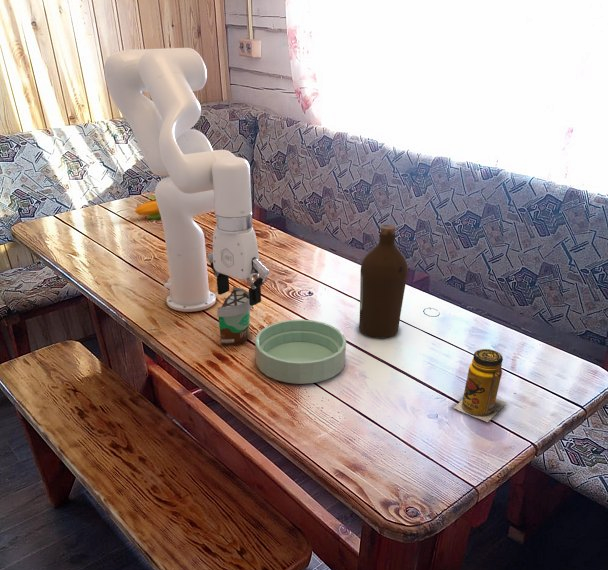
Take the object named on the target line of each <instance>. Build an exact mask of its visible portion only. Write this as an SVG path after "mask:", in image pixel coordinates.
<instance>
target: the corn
mask: <svg viewBox="0 0 608 570" xmlns="http://www.w3.org/2000/svg"><path fill="white" fill-rule="evenodd" d="M148 200H149V201H146V202H144V203H142V204H140V205H138V206H137V207H136V209H134V212H135V214H137V215H138V216H147V219H149V220H158V219H161V215H160V212H159V208H158V205H157V201H156V197H155V195H154V196H151V197H148Z"/></svg>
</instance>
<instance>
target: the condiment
mask: <svg viewBox="0 0 608 570" xmlns="http://www.w3.org/2000/svg"><path fill="white" fill-rule="evenodd" d="M472 357H473V358H472V360H471V363H470V364H469V366H468V372H467V377H466V381H465V387H464V391H463V396H462V399H461V401H459V402H458V403H457V404H456V405H455V406H453V409H455V410H457V411H459V412H461V413H463V414H466V415H468V416H471V417H473V418H475V419H478V420H481V421H484V422H486V423H489V421H491V420H492V419H493V418H494V417H495V416H496V415H497V414H498V413H499V412H500V410H502V408H504V407H505V405H506V404H507V402H506V401H502V400H499V399H497V396H498V392H499V387H500V383H501V378H502V375H503V369H502V366H503V364H502V363H503V360H504V358H503V355H502V354H501V353H500V352H498V351H496V350H494V349H490V348H482V349H478V350H476V351H475V352H474V353H473V356H472Z"/></svg>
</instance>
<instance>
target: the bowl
mask: <svg viewBox="0 0 608 570" xmlns="http://www.w3.org/2000/svg"><path fill="white" fill-rule="evenodd" d="M254 347H255V349H254V350H255V365H256V367H257V368H258V370H259V371H260V372H261V373H262V374H264V375H265V376H266V377H268V378H271V379H273V380H275V381H279V382H284V383H288V384H298V385H303V384H314V383H320V382H324V381H326V380H329V379H331V378H334V377H335V376H336V375H338V374H340V373H341V372H342V370H343V368H345V363H346V353H347V351H346V350H347V339H346V336H345V333H343V332H342V331H341V330H340V329H338V328H336V327H335V326H334V325H331V324H329V323H326V322H322V321H316V320H312V319H287V320H282V321H277V322H273V323H272V324H268V325H267V326H265V327H263V328H262V329H261V330H260V331H259V332H257V334H256V337H255V339H254Z"/></svg>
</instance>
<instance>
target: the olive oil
mask: <svg viewBox="0 0 608 570" xmlns="http://www.w3.org/2000/svg"><path fill="white" fill-rule="evenodd" d="M395 239H396V226H395V225H392V224H383V225H381V226H380V232H379V239H378V243H377V244H376V245H375V246H374V247H373V248H372V249H371V250H370V251H369V252H368V253H366V254H365V256H364V257H363V259H362V262H361V265H360V274H359V275H360V278H359V279H360V280H359V281H360V286H359V287H360V288H359V319H358V320H359V323H358V328H359V331H360V333H361V334H363V335H364V336H366V337H369V338H373V339H390V338H392V337H394V336H395V335H397V334H398V332H399V329H400V328H399V327H400V320H401V313H402V307H403V302H404V296H405V289H406V284H407V278H408V272H409V268H408V261H407V259H406V257H405V255H404V254H403V253H402V251H401V250H400V249H399V248H398V247H397V246H396V244H395Z"/></svg>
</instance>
